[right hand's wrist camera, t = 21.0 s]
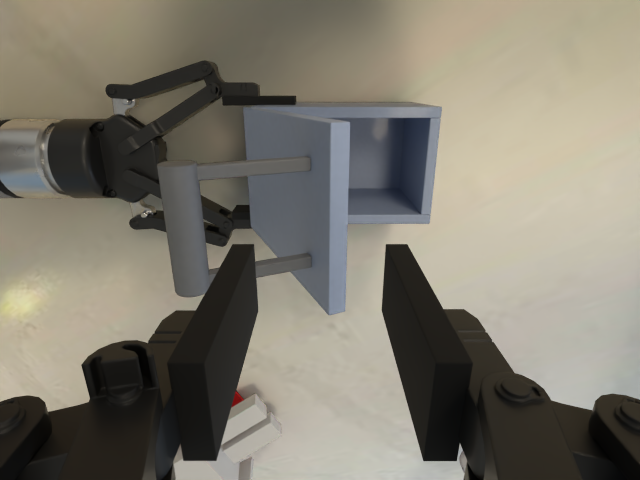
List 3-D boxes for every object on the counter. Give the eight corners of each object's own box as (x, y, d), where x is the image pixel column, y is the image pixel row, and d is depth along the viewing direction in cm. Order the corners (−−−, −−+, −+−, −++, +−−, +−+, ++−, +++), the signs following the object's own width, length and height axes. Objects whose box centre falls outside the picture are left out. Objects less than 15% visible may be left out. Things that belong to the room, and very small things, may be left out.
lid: (350, 121, 18) (154, 129, 15) (345, 311, 22) (186, 350, 19) (255, 107, 32) (141, 109, 29) (262, 225, 36) (161, 239, 33)
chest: (412, 102, 43) (442, 106, 33) (404, 193, 47) (429, 223, 36) (266, 102, 43) (250, 106, 33) (270, 194, 46) (257, 224, 36)
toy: (295, 477, 50) (95, 595, 51) (288, 404, 62) (129, 500, 63) (239, 412, 46) (25, 541, 47) (245, 349, 58) (76, 451, 60)
